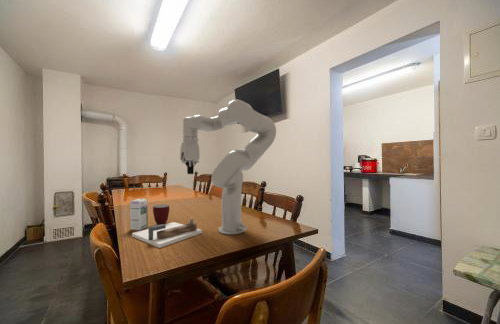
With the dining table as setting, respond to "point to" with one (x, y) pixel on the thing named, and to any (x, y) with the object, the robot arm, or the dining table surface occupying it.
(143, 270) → the dining table surface
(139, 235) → the pintle board
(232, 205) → the robot arm
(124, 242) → the dining table surface
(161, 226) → the block
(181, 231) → the walnut link
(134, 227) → the syrup box
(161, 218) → the mug
